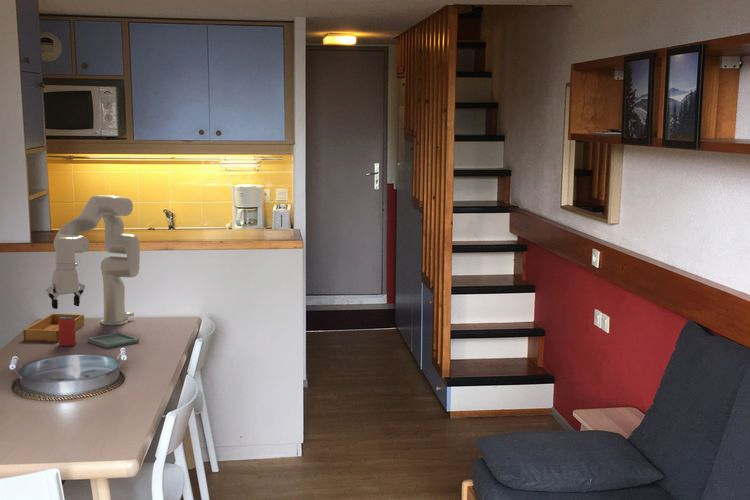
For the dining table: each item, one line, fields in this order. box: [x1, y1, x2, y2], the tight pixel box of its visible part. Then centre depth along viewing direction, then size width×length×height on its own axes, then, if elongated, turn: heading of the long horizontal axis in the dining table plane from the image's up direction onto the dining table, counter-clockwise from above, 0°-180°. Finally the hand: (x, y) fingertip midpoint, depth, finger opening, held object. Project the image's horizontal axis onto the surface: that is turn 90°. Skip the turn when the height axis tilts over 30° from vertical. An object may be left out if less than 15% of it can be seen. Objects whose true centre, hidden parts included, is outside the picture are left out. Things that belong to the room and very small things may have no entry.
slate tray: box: [87, 332, 140, 349], centre depth 352 cm, size 15×15×2 cm
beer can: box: [58, 316, 76, 347], centre depth 345 cm, size 7×7×12 cm
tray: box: [23, 313, 85, 342], centre depth 366 cm, size 31×15×6 cm, turn 0°
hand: (65, 307), depth 343 cm, fingers open, 9 cm apart
